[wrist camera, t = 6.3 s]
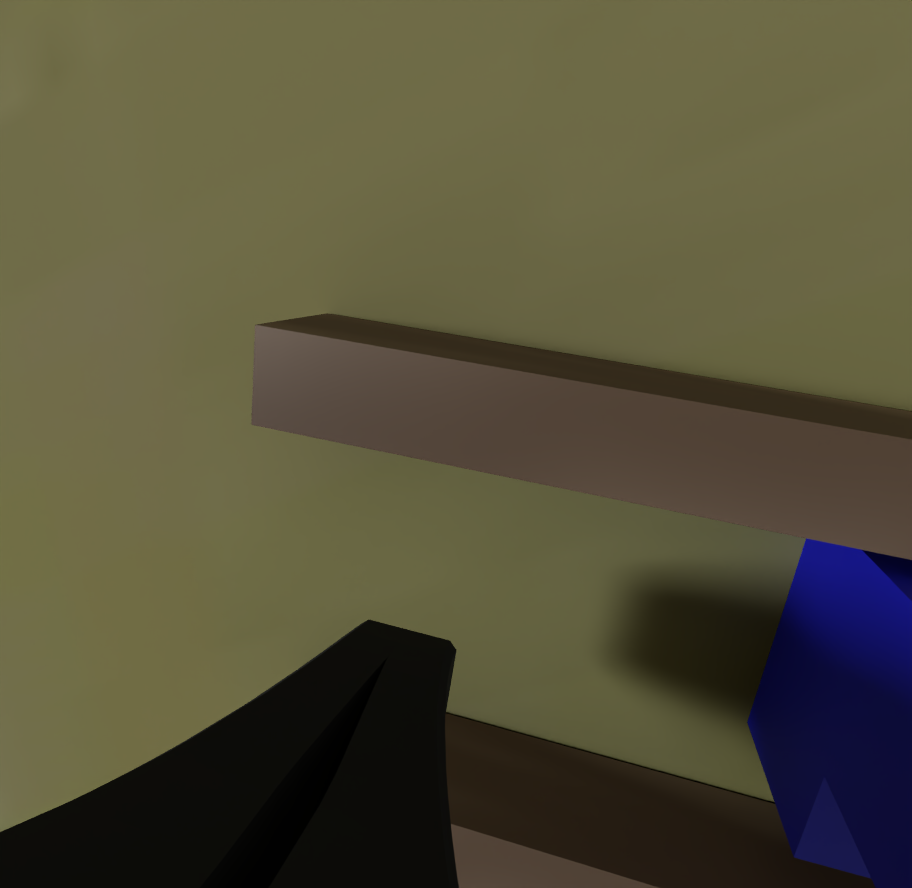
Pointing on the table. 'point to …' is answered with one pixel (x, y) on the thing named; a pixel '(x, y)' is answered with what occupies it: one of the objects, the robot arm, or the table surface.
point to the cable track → (618, 477)
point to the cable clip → (842, 713)
